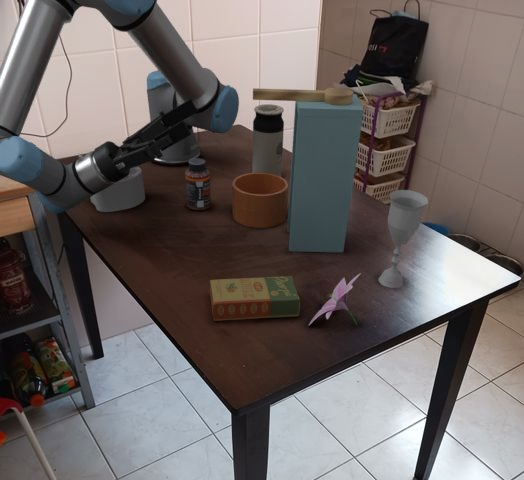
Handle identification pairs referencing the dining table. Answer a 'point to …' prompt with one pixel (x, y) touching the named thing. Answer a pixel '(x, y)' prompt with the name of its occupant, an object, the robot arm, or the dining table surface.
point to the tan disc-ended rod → (306, 95)
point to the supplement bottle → (198, 185)
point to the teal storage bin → (322, 174)
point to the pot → (259, 199)
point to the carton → (254, 298)
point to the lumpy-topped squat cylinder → (121, 193)
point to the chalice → (402, 229)
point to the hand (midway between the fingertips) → (190, 115)
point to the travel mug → (268, 139)
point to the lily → (337, 299)
